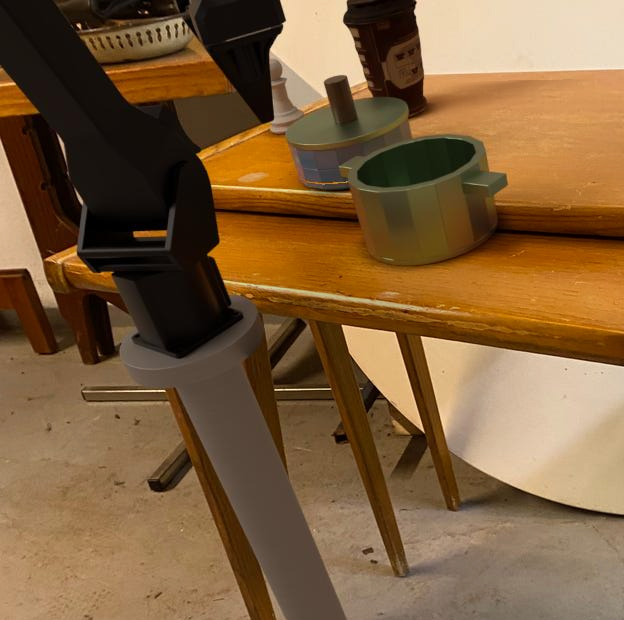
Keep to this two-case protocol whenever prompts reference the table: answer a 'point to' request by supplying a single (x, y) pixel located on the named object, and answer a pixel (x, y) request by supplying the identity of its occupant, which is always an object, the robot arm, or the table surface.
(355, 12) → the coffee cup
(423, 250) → the pot
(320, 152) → the pan
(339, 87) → the lid
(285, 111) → the chess piece
